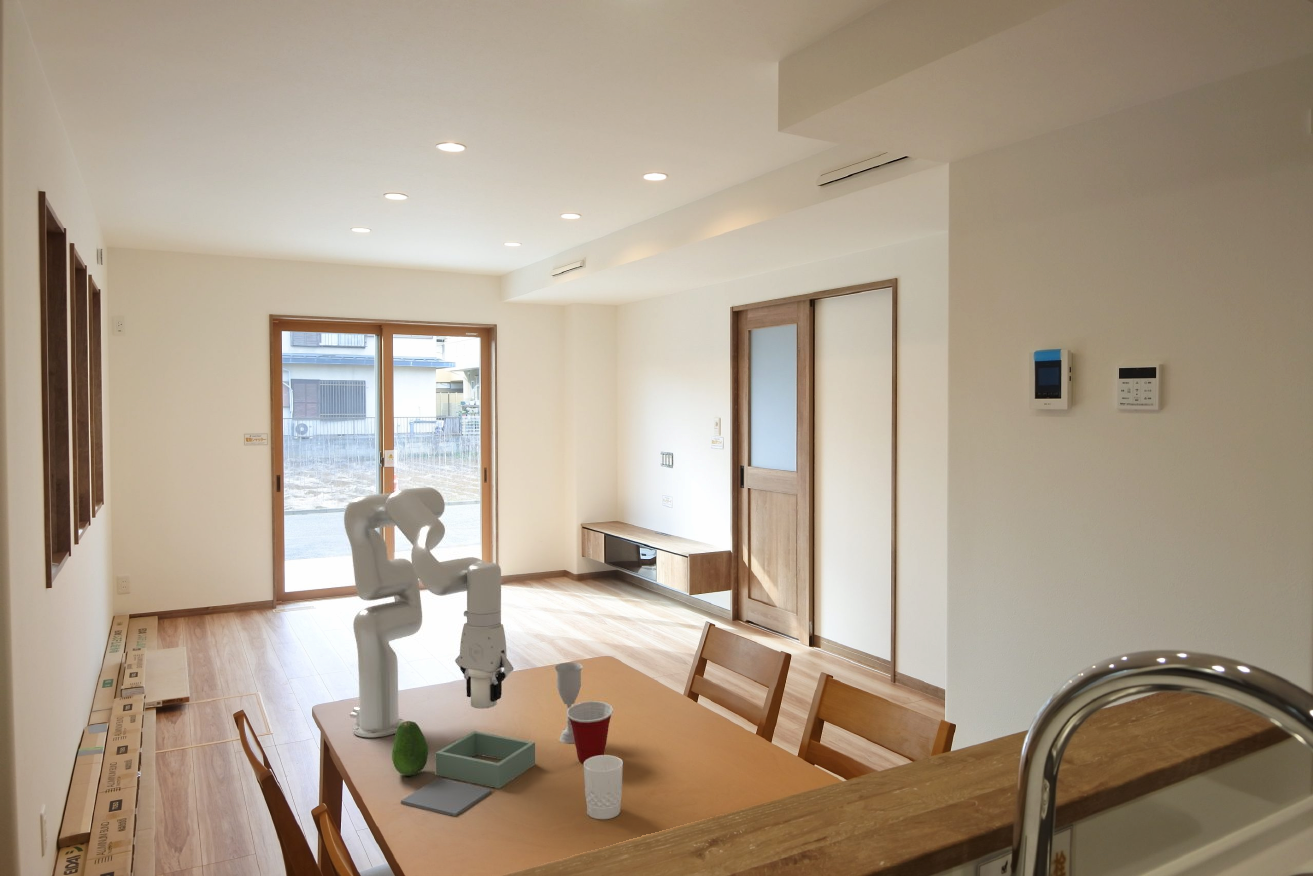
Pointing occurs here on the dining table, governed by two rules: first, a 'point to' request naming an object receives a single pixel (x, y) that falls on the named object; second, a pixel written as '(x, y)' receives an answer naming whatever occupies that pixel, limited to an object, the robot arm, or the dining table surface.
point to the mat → (446, 796)
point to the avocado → (409, 749)
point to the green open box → (462, 767)
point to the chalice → (568, 691)
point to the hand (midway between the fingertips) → (483, 696)
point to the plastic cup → (590, 727)
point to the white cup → (603, 786)
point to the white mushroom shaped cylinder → (481, 688)
